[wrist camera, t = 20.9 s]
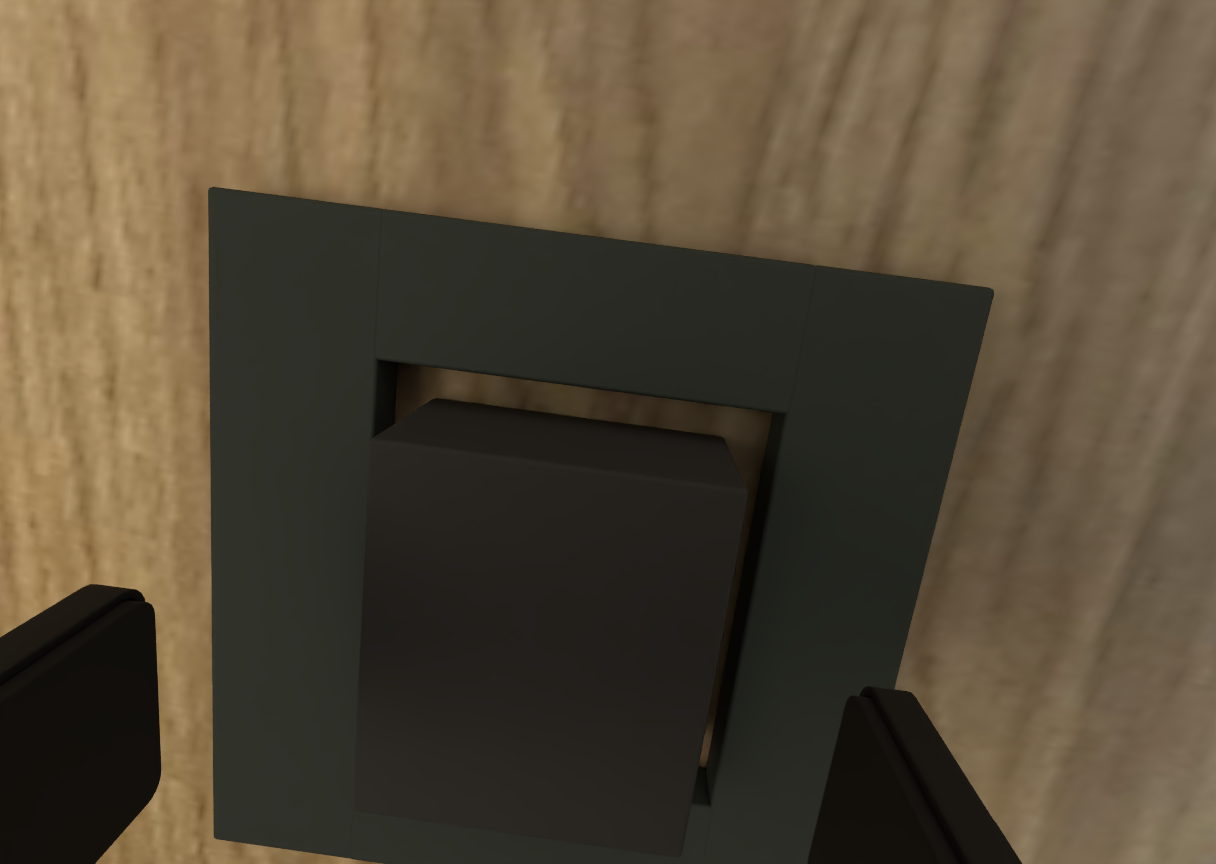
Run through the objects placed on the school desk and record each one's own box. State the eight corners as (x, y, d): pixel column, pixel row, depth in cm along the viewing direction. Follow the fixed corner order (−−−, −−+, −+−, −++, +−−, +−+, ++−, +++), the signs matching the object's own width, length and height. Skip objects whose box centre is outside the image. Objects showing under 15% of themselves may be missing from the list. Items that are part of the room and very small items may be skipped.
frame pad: (243, 192, 14) (205, 185, 12) (966, 286, 13) (997, 288, 12) (241, 800, 17) (211, 840, 16) (821, 883, 17) (835, 930, 15)
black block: (433, 396, 14) (367, 438, 11) (724, 436, 14) (750, 490, 11) (412, 696, 16) (349, 813, 13) (673, 733, 16) (682, 861, 12)
